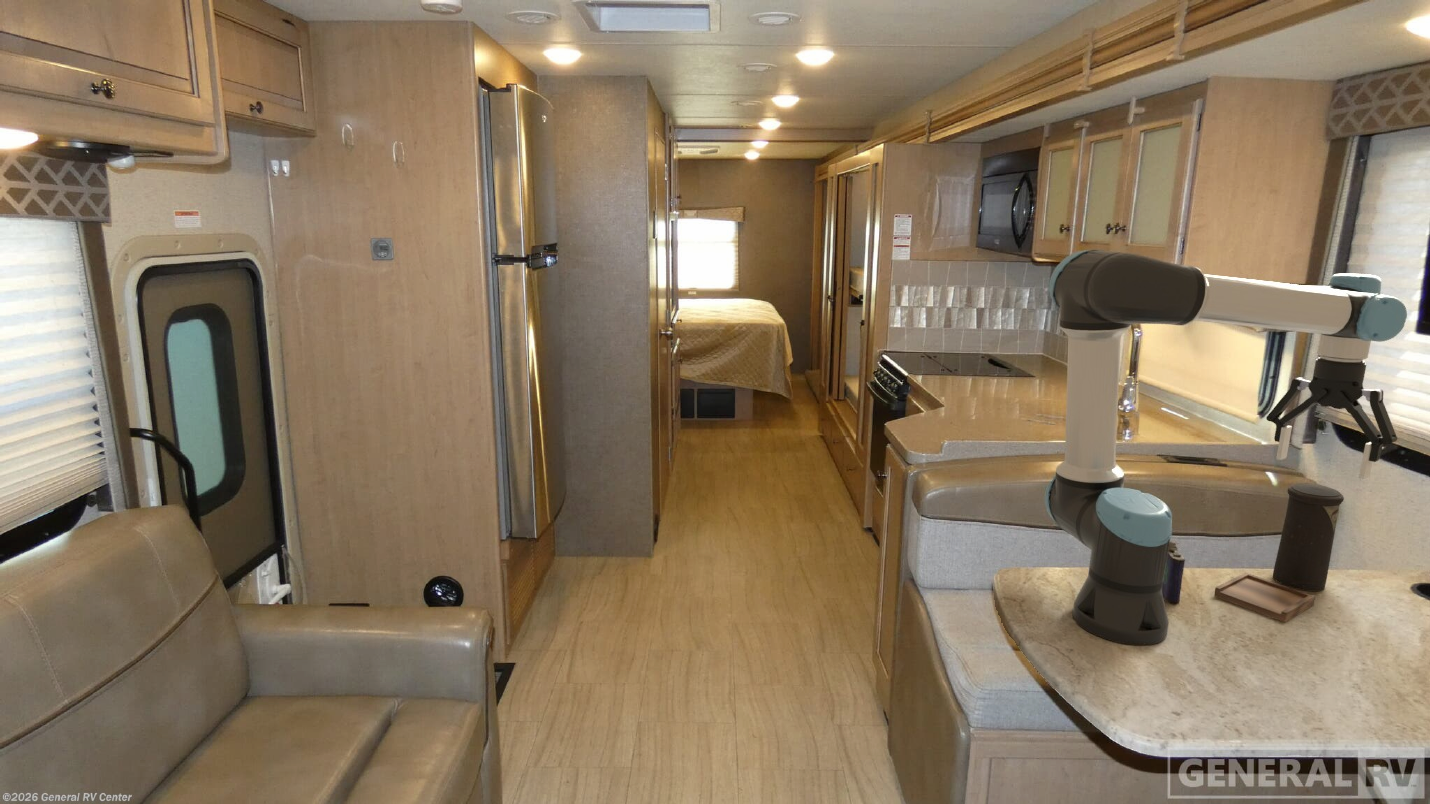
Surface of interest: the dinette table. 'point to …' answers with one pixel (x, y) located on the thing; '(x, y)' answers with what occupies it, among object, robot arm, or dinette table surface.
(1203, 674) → the dinette table surface
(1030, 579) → the dinette table surface
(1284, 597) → the square wooden tray
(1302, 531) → the container
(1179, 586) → the flask
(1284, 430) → the robot arm
